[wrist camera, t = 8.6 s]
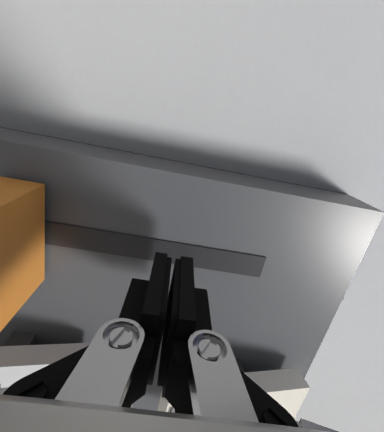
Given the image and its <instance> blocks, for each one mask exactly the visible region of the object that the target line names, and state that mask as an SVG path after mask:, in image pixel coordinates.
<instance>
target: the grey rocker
mask: <svg viewBox="0 0 384 432" xmlns="http://www.w3.org/2000/svg"><path fill="white" fill-rule="evenodd" d="M89 345H90V343H69V344H45V345H21V346H0V384H1V388H6V387H10V386H11V385H12V384H13V383H15V382H16V381H18V380H20V379H21V378H23V377H25V376H27V375H29V374H31V373H33V372H35V371H37V370H40V369H42V368H44V367H46V366H48V365H50V364H52V363H54V362H56V361H58V360H60V359H62V358H64V357H66V356H68V355H70V354H72V353H74V352H76V351H78V350H80V349H82V348H84V347H87V346H89Z"/></svg>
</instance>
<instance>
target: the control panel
mask: <svg viewBox="0 0 384 432" xmlns="http://www.w3.org/2000/svg"><path fill="white" fill-rule="evenodd" d="M0 176H2V177H8V178H14V179H19V180H25V181H31V182H36V183H42V184H45V279H44V281H43V282H42V283H41V284H40V285H39V287H38V288H37V289H36V290H35V291H34V292H33V294H32V295H31V296H30V297H29V298H28V300H27V301H26V302H25V303H24V304H23V306H22V307H21V308H20V309H19V310H18V312H17V313H16V314H15V315H14V316H13V318H12V319H11V320H10V321H9V322H8V323H7V325H6V326H5V327H4V328H3V329H2V331H1V332H0V346H21V345H45V344H69V343H91V341H92V340H93V338H94V337H95V335H96V334H97V332H98V330H99V329H100V328H101V327H102V326H103V324H105V323H106V322H108V321H110V320H113V319H117V318H119V315H120V312H121V309H122V306H123V304H124V301H125V298H126V295H127V292H128V289H129V286H130V283H131V280H132V278H136V279H142V280H149V279H150V275H151V270H152V266H153V262H154V257H155V253H156V252H160V253H167V254H168V256H167V257H171V258H172V263H171V273H170V283H169V289H170V284H171V279H172V274H173V269H174V264H175V259H176V258H177V259H180V257H181V256H185V257H191V258H193V265H194V285H195V288H200V289H206V290H207V293H208V301H209V309H210V317H211V325H212V331H214V332H217V333H219V334H220V335H222V336H223V337H224V338H225V339H226V340H227V341H228V342H229V344H230V346H231V348H232V351H233V354H234V357H235V359H236V362H237V365H238V367H239V369H240V370H241V371H242V372H243V373H246V372H258V371H269V370H281V369H293V368H298V370H299V372H300V373H301V375H302V376H303V378H305V376H306V373H307V371H308V369H309V367H310V365H311V363H312V361H313V359H314V357H315V355H316V353H317V351H318V349H319V347H320V345H321V342H322V340H323V338H324V336H325V334H326V332H327V330H328V328H329V326H330V324H331V322H332V320H333V318H334V316H335V313H336V311H337V309H338V307H339V305H340V303H341V301H342V299H343V297H344V295H345V293H346V291H347V289H348V287H349V285H350V282H351V280H352V278H353V276H354V274H355V272H356V270H357V268H358V266H359V264H360V262H361V260H362V258H363V256H364V254H365V251H366V249H367V247H368V245H369V243H370V241H371V239H372V237H373V235H374V233H375V231H376V229H377V227H378V225H379V223H380V220H381V218H382V216H383V214H384V212H382V211H380V210H378V209H376V208H374V207H372V206H370V205H368V204H366V203H364V202H362V201H360V200H358V199H356V198H354V197H352V196H350V195H347V194H342V193H337V192H332V191H326V190H321V189H316V188H311V187H306V186H301V185H295V184H290V183H285V182H280V181H275V180H270V179H264V178H259V177H254V176H249V175H244V174H239V173H234V172H228V171H223V170H218V169H213V168H208V167H203V166H197V165H192V164H187V163H182V162H177V161H172V160H166V159H161V158H156V157H151V156H146V155H141V154H136V153H130V152H125V151H120V150H115V149H110V148H105V147H99V146H94V145H89V144H84V143H79V142H74V141H68V140H63V139H58V138H53V137H48V136H43V135H38V134H32V133H27V132H22V131H17V130H12V129H7V128H1V127H0ZM168 294H169V293H168ZM161 344H162V340H161ZM160 353H161V345H160V350H159V354H158V359H157V364H156V369H155V374H154V379H153V384H152V385H147V387H146V392H145V395H144V396H142V397H141V398H140V399H138V400H137V401H136V402H134V403H133V405H132V408H137V409H146V410H155V411H157V410H158V405H159V401H160V397H161V392H162V386H157V381H158V371H159V362H160Z"/></svg>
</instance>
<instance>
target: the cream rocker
mask: <svg viewBox="0 0 384 432" xmlns="http://www.w3.org/2000/svg"><path fill="white" fill-rule="evenodd" d="M245 374H246V375H247V376H248V377H249V378H250V379H251V380H253V381H254V382H255V383H256V384H257V385H258V386H260V387H261V388H262V389H263V390H264V391H265V392H266V393H268V394H269V395H270V396H271V397H272V398H273V399H274V400H276V401H277V402H278V403H279V404H280V405H281V406H282V407H284V408H285V409H286V410H287V411H288V412H289V413H290V414H291V415H292V416H293V418H295V416H296V414H297V412H298V410H299V408H300V406H301V404H302V402H303V401H304V399H305V397H306V395H307V393H308V391H309V389H310V387H309V385H308V384H307V382H306V381H305V379H304V378H303V376H302V375H301V373H300V372H299V370H298V368H293V369H281V370H269V371H258V372H246V373H245ZM171 409H172V405H171V404H170V403H169V402H168V401H167V399H166V398H162V392H161V397H160V401H159V405H158V410H157V411H163V412H171Z"/></svg>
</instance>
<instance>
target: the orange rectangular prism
mask: <svg viewBox="0 0 384 432" xmlns="http://www.w3.org/2000/svg"><path fill="white" fill-rule="evenodd" d="M44 279H45V184H42V183H36V182H31V181H25V180H19V179H14V178H8V177H2V176H0V332H1V331H2V329H3V328H4V327H5V326H6V325H7V323H8V322H9V321H10V320H11V319H12V318H13V316H14V315H15V314H16V313H17V312H18V310H19V309H20V308H21V307H22V306H23V304H24V303H25V302H26V301H27V300H28V298H29V297H30V296H31V295H32V294H33V292H34V291H35V290H36V289H37V288H38V287H39V285H40V284H41V283H42V282H43V281H44Z"/></svg>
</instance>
